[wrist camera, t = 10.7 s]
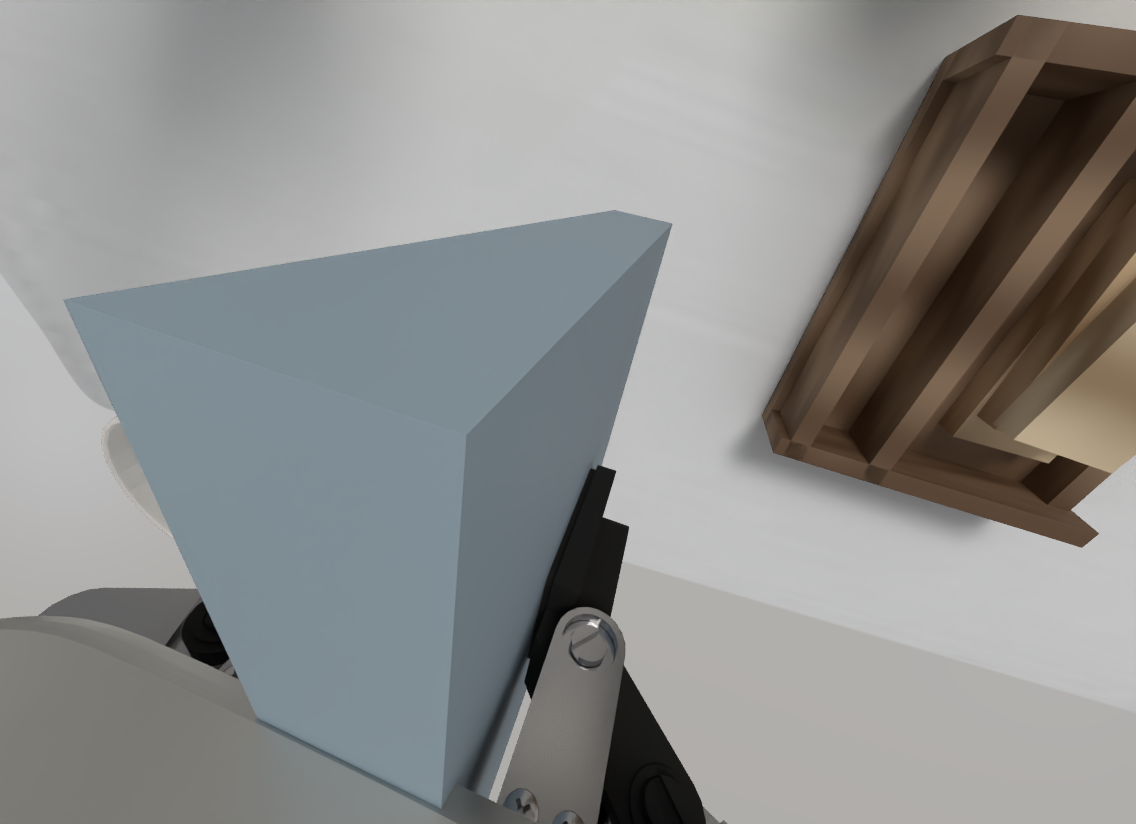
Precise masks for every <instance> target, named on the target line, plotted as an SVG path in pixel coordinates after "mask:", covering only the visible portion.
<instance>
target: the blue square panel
mask: <svg viewBox="0 0 1136 824" xmlns="http://www.w3.org/2000/svg"><path fill="white" fill-rule="evenodd" d="M671 227H672V223H668V222H663V221H659V220H655V219H650V218H646V217H642V216H637V215H633V214H629V213H624V212H620V211H616V210H613V211H607V212H601V213H595V214H589V215H582V216H576V217H570V218H564V219H558V220H552V221H546V222H539V223H533V224H527V225H521V226H515V227H509V228H502V229H496V230H490V231H484V232H478V233H472V234H465V235H459V236H453V237H447V238H441V239H435V240H428V241H422V242H416V243H410V244H404V245H398V246H392V247H385V248H379V249H373V250H367V251H361V252H355V253H348V254H342V255H336V256H330V257H324V258H318V259H311V260H305V261H299V262H293V263H287V264H281V265H274V266H268V267H262V268H256V269H250V270H244V271H238V272H231V273H225V274H219V275H213V276H207V277H201V278H194V279H188V280H182V281H176V282H170V283H164V284H157V285H151V286H145V287H139V288H133V289H127V290H120V291H114V292H108V293H102V294H96V295H90V296H84V297H77V298H71V299H65V300H64V302H65V304H66V307H67V309H68V311H69V313H70V315H71V317H72V320H73V322H74V324H75V326H76V328H77V330H78V333H79V335H80V337H81V339H82V341H83V343H84V345H85V348H86V350H87V352H88V354H89V356H90V358H91V361H92V363H93V365H94V367H95V369H96V371H97V373H98V376H99V378H100V380H101V382H102V384H103V386H104V389H105V391H106V393H107V395H108V397H109V399H110V402H111V404H112V406H113V408H114V410H115V412H116V414H117V417H118V419H119V421H120V423H121V425H122V427H123V430H124V432H125V434H126V436H127V438H128V440H129V443H130V445H131V447H132V449H133V451H134V453H135V455H136V458H137V460H138V462H139V464H140V466H141V468H142V471H143V473H144V475H145V477H146V479H147V481H148V483H149V486H150V488H151V490H152V492H153V494H154V496H155V499H156V501H157V503H158V505H159V507H160V509H161V512H162V514H163V516H164V518H165V520H166V522H167V524H168V527H169V529H170V531H171V533H172V535H173V537H174V540H175V542H176V544H177V546H178V548H179V550H180V552H181V554H182V557H183V559H184V561H185V563H186V565H187V567H188V570H189V572H190V574H191V576H192V578H193V581H194V583H195V585H196V587H197V589H198V591H199V593H200V596H201V598H202V600H203V602H204V604H205V606H206V609H207V611H208V613H209V615H210V617H211V619H212V622H213V624H214V626H215V628H216V630H217V632H218V634H219V637H220V639H221V641H222V643H223V645H224V647H225V650H226V652H227V654H228V656H229V658H230V660H231V662H232V665H233V667H234V669H235V671H236V673H237V675H238V678H239V680H240V682H241V684H242V686H243V688H244V691H245V693H246V695H247V697H248V699H249V701H250V703H251V706H252V708H253V710H254V712H255V714H256V716H257V719H259V720H261V721H263V722H265V723H267V724H269V725H272V726H274V727H276V728H278V729H280V730H282V731H284V732H286V733H288V734H290V735H292V736H294V737H296V738H298V739H300V740H302V741H304V742H306V743H308V744H310V745H312V746H314V747H316V748H318V749H320V750H322V751H324V752H326V753H328V754H330V755H332V756H334V757H336V758H339V759H341V760H343V761H345V762H347V763H349V764H351V765H353V766H355V767H357V768H359V769H361V770H363V771H365V772H367V773H369V774H371V775H373V776H375V777H377V778H379V779H381V780H383V781H385V782H387V783H389V784H391V785H393V786H395V787H397V788H399V789H401V790H403V791H405V792H407V793H409V794H411V795H414V796H416V797H418V798H420V799H422V800H424V801H426V802H428V803H430V804H432V805H434V806H436V807H438V808H440V809H442V807H443V805H444V803H445V801H446V800H447V798H448V796H449V795H450V793H451V791H452V789H453V788H454V786H455V784H458V785H460V786H462V787H464V788H466V789H468V790H471V791H473V792H475V793H477V794H479V795H481V796H483V797H485V798H487V799H488V798H489V795H490V792H491V789H492V787H493V784H494V781H495V778H496V775H497V772H498V769H499V766H500V764H501V761H502V758H503V755H504V752H505V749H506V746H507V744H508V741H509V738H510V735H511V732H512V729H513V726H514V723H515V721H516V718H517V715H518V712H519V709H520V706H521V704H522V701H523V698H524V695H525V692H526V689H527V688H526V685H525V683H524V680H525V676H526V673H527V669H528V665H529V661H530V659H529V658H527V655H528V651H529V647H530V643H531V639H532V635H533V631H534V627H535V623H536V619H537V615H538V611H539V607H540V603H541V599H542V595H543V591H544V587H545V583H546V580H547V577H548V574H549V571H550V569H551V566H552V564H553V561H554V559H555V556H556V554H557V551H558V549H559V546H560V544H561V541H562V539H563V536H564V534H565V531H566V528H567V526H568V523H569V521H570V518H571V516H572V513H573V511H574V508H575V506H576V503H577V501H578V498H579V496H580V493H581V491H582V488H583V486H584V483H585V481H586V478H587V476H588V473H589V471H590V469H591V468H592V469H595V470H596V468H597V465H600V466H602V462H603V459H604V456H605V452H606V449H607V445H608V442H609V439H610V435H611V432H612V428H613V425H614V421H615V418H616V415H617V411H618V408H619V404H620V401H621V398H622V394H623V391H624V387H625V384H626V380H627V377H628V374H629V370H630V367H631V363H632V360H633V357H634V353H635V350H636V346H637V343H638V339H639V336H640V333H641V329H642V326H643V322H644V319H645V316H646V312H647V309H648V305H649V302H650V298H651V295H652V292H653V288H654V285H655V281H656V278H657V275H658V271H659V268H660V264H661V261H662V257H663V254H664V251H665V247H666V244H667V240H668V237H669V234H670V230H671Z"/></svg>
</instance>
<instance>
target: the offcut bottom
mask: <svg viewBox="0 0 1136 824" xmlns="http://www.w3.org/2000/svg"><path fill="white" fill-rule="evenodd" d="M1135 203H1136V178H1129V179H1128V181H1127V182H1126V183H1125V185H1124V186H1123V187H1122V188H1121V190H1120V191H1119V192H1118V193H1117V195H1116V196H1115V197H1114V199H1113V200H1112V201H1111V202H1110V204H1109V205H1108V206H1107V208H1106V209H1105V210H1104V211H1103V213H1102V214H1101V215H1100V217H1099V218H1098V219H1097V220H1096V222H1095V223H1094V224H1093V225H1092V227H1091V228H1090V229H1089V231H1088V232H1087V233H1086V234H1085V236H1084V237H1083V238H1082V240H1081V241H1080V242H1079V243H1078V245H1077V246H1076V247H1075V248H1074V250H1073V251H1072V252H1071V254H1070V255H1069V256H1068V257H1067V259H1066V260H1065V261H1064V263H1063V264H1062V265H1061V266H1060V268H1059V269H1058V270H1057V272H1056V273H1055V274H1054V275H1053V277H1052V278H1051V279H1050V280H1049V282H1048V283H1047V284H1046V286H1045V287H1044V288H1043V289H1042V291H1041V292H1040V293H1039V295H1038V296H1037V297H1036V298H1035V300H1034V301H1033V302H1032V304H1031V305H1030V306H1029V307H1028V309H1027V310H1026V311H1025V312H1024V314H1023V315H1022V316H1021V318H1020V319H1019V320H1018V321H1017V323H1016V324H1015V325H1014V327H1013V328H1012V329H1011V330H1010V332H1009V333H1008V334H1007V335H1006V337H1005V338H1004V339H1003V341H1002V342H1001V343H1000V344H999V346H998V347H997V348H996V350H995V351H994V352H993V353H992V355H991V356H990V357H989V359H988V360H987V361H986V362H985V364H984V365H983V366H982V367H981V369H980V370H979V371H978V373H977V374H976V375H975V376H974V378H973V379H972V380H971V382H970V383H969V384H968V385H967V387H966V388H965V389H964V390H963V392H962V393H961V394H960V396H959V397H958V398H957V399H956V401H955V402H954V403H953V405H952V406H951V407H950V408H949V410H948V411H947V412H946V414H945V415H944V416H943V417H942V419H941V420H940V421H939V422H938V423H939V424H940V425H941V426H942V427H943V428H944V429H945V430H946V431H947V432H948V433H950V434H951V435H952V436H953V437H957V438H960V439H964V440H967V441H971V442H974V443H978V444H982V445H985V446H989V447H992V448H996V449H999V450H1003V451H1006V452H1010V453H1013V454H1017V455H1020V456H1024V457H1027V458H1031V459H1035V460H1038V461H1042V462H1045V463H1050V462H1051V461H1052V460H1053V459H1054V458H1055V457H1056V456H1057V454H1054V453H1051V452H1048V451H1045V450H1042V449H1040V448H1037V447H1034V446H1031V445H1028V444H1025V443H1022V442H1019V441H1016V440H1014V439H1012V438H1011V437H1010V436H1008V435H1007V434H1006V433H1004V432H1002V431H998V430H995V429H993V428H992V427H991V426H989V425H988V424H987V423H986V422H984V421H983V420H982V419H980V418H979V417H978V416H977V414H978V413H979V412H980V410H981V409H982V408H983V406H984V405H985V404H986V402H987V401H988V400H989V398H990V397H991V396H992V394H993V393H994V392H995V390H996V389H997V388H998V386H999V385H1000V384H1001V382H1002V381H1003V380H1004V378H1005V377H1006V376H1007V374H1008V373H1009V372H1010V370H1011V369H1012V368H1013V366H1014V365H1015V364H1016V362H1017V361H1018V360H1019V358H1020V357H1021V356H1022V354H1023V353H1024V352H1025V350H1026V349H1027V348H1028V346H1029V345H1030V344H1031V342H1032V341H1033V340H1034V338H1035V337H1036V336H1037V334H1038V333H1039V332H1040V330H1041V329H1042V328H1043V326H1044V325H1045V324H1046V322H1047V321H1048V319H1049V318H1050V317H1051V315H1052V314H1053V313H1054V311H1055V310H1056V309H1057V307H1058V306H1059V305H1060V303H1061V302H1062V301H1063V299H1064V298H1065V297H1066V295H1067V294H1068V293H1069V291H1070V290H1071V289H1072V287H1073V286H1074V285H1075V283H1076V282H1077V281H1078V279H1079V278H1080V277H1081V275H1082V274H1083V273H1084V271H1085V270H1086V269H1087V267H1088V266H1089V265H1090V263H1091V262H1092V261H1093V259H1094V258H1095V257H1096V255H1097V254H1098V253H1099V251H1100V250H1101V249H1102V247H1103V246H1104V245H1105V243H1106V242H1107V241H1108V239H1109V238H1110V237H1111V235H1112V234H1113V233H1114V231H1115V230H1116V229H1117V227H1118V226H1119V225H1120V223H1121V222H1122V221H1123V219H1124V218H1125V217H1126V215H1127V214H1128V213H1129V211H1130V210H1131V209H1132V207H1133V206H1134V205H1135Z"/></svg>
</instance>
